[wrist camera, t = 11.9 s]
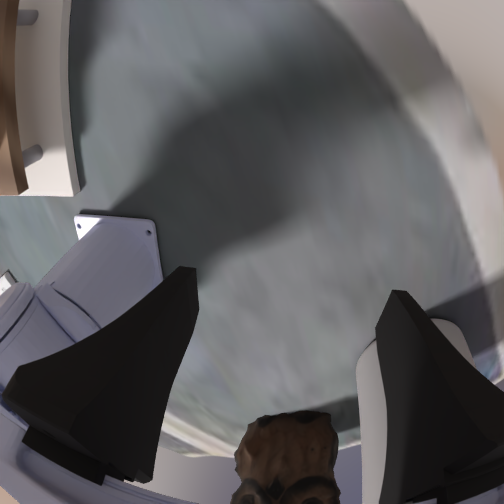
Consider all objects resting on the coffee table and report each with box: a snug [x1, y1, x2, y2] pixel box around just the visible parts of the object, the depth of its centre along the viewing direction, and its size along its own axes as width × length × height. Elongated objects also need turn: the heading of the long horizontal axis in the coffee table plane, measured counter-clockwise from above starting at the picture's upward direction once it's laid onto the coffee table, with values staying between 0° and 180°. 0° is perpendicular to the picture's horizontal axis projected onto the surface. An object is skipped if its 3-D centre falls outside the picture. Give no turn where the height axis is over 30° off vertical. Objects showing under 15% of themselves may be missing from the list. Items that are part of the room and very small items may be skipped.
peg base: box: [8, 0, 80, 196], centre depth 14 cm, size 20×12×4 cm, turn 177°
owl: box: [230, 411, 341, 504], centre depth 29 cm, size 13×13×20 cm
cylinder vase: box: [356, 319, 476, 504], centre depth 16 cm, size 12×12×25 cm
